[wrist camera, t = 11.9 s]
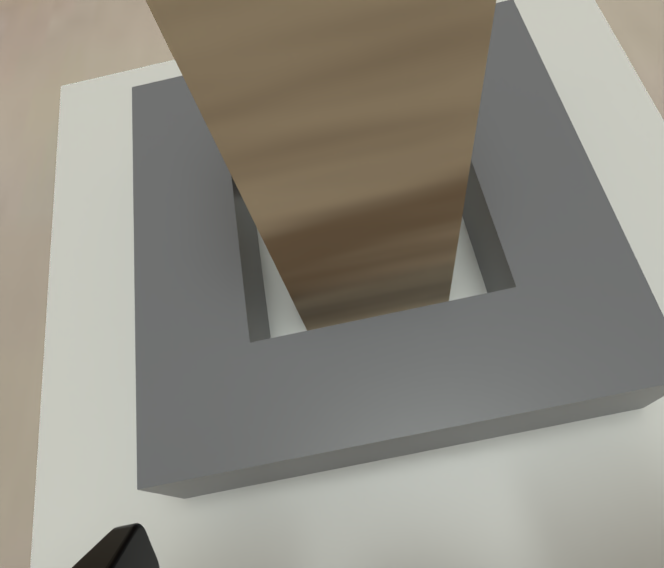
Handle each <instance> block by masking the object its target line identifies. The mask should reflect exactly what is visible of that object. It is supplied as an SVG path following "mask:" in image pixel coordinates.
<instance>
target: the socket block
mask: <svg viewBox="0 0 664 568" xmlns="http://www.w3.org/2000/svg"><path fill="white" fill-rule="evenodd" d="M133 523H139V524H141V525H142V526H143V527H144V528H145V530H146V532H147V535H148V537H149V540H150V542H151V545H152V547H153V550H154V552H155V554H156V557H157V559H158V562H159V567H160V568H664V120H663V118H662V116H661V115H660V113H659V111H658V110H657V108H656V106H655V104H654V103H653V101H652V99H651V97H650V96H649V94H648V92H647V90H646V89H645V87H644V85H643V83H642V82H641V80H640V78H639V76H638V75H637V73H636V71H635V69H634V68H633V66H632V64H631V62H630V61H629V59H628V57H627V55H626V54H625V52H624V50H623V48H622V47H621V45H620V43H619V41H618V40H617V38H616V36H615V34H614V33H613V31H612V29H611V27H610V26H609V24H608V22H607V20H606V19H605V17H604V15H603V13H602V12H601V10H600V8H599V6H598V5H597V3H596V1H595V0H496V6H495V12H494V18H493V25H492V31H491V37H490V44H489V50H488V56H487V63H486V69H485V75H484V82H483V88H482V94H481V101H480V107H479V113H478V119H477V126H476V132H475V138H474V145H473V151H472V157H471V164H470V170H469V176H468V183H467V189H466V195H465V202H464V208H463V214H462V221H461V227H460V233H459V239H458V246H457V252H456V258H455V265H454V271H453V277H452V284H451V290H450V296H449V301H447V302H442V303H437V304H433V305H428V306H423V307H418V308H413V309H409V310H404V311H399V312H394V313H389V314H385V315H380V316H375V317H370V318H366V319H361V320H356V321H351V322H346V323H342V324H337V325H332V326H327V327H322V328H318V329H313V330H308V331H307V329H306V327H305V325H304V323H303V321H302V319H301V317H300V315H299V313H298V311H297V309H296V307H295V305H294V303H293V301H292V299H291V297H290V294H289V292H288V290H287V288H286V286H285V284H284V282H283V280H282V278H281V276H280V274H279V272H278V270H277V268H276V266H275V264H274V262H273V260H272V258H271V256H270V254H269V252H268V249H267V247H266V245H265V243H264V241H263V239H262V237H261V235H260V233H259V231H258V229H257V227H256V225H255V223H254V221H253V219H252V217H251V215H250V213H249V211H248V209H247V206H246V204H245V202H244V200H243V198H242V196H241V194H240V192H239V190H238V188H237V186H236V184H235V182H234V180H233V178H232V176H231V174H230V172H229V170H228V168H227V166H226V164H225V161H224V159H223V157H222V155H221V153H220V151H219V149H218V147H217V145H216V143H215V141H214V139H213V137H212V135H211V133H210V131H209V129H208V127H207V125H206V123H205V121H204V118H203V116H202V114H201V112H200V110H199V108H198V106H197V104H196V102H195V100H194V98H193V96H192V94H191V92H190V90H189V88H188V86H187V84H186V82H185V80H184V78H183V76H182V73H181V71H180V69H179V67H178V65H177V63H176V61H175V60H171V61H167V62H162V63H158V64H154V65H149V66H145V67H141V68H137V69H132V70H128V71H124V72H119V73H115V74H111V75H106V76H102V77H98V78H94V79H89V80H85V81H81V82H76V83H72V84H68V85H63V86H61V95H60V111H59V127H58V142H57V158H56V174H55V189H54V205H53V221H52V236H51V252H50V268H49V283H48V299H47V315H46V330H45V346H44V362H43V377H42V393H41V409H40V425H39V440H38V456H37V472H36V487H35V503H34V519H33V534H32V550H31V566H30V568H72V567H73V566H74V565H75V564H76V563H77V562H78V561H79V560H80V559H81V558H82V557H83V556H84V555H86V554H87V553H88V552H89V551H90V550H91V549H92V548H93V547H94V546H95V545H96V544H97V543H98V542H99V541H100V540H101V539H102V538H103V537H105V536H106V535H107V534H108V533H109V532H110V531H111V530H112V529H113V528H115V527H118V526H123V525H128V524H133Z"/></svg>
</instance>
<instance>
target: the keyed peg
mask: <svg viewBox="0 0 664 568" xmlns="http://www.w3.org/2000/svg"><path fill="white" fill-rule="evenodd" d="M146 2H147V4H148V6H149V8H150V10H151V12H152V14H153V16H154V18H155V20H156V22H157V24H158V26H159V28H160V30H161V33H162V35H163V37H164V39H165V41H166V43H167V45H168V47H169V49H170V51H171V53H172V55H173V57H174V59H175V61H176V63H177V65H178V67H179V69H180V71H181V73H182V76H183V78H184V80H185V82H186V84H187V86H188V88H189V90H190V92H191V94H192V96H193V98H194V100H195V102H196V104H197V106H198V108H199V110H200V112H201V114H202V116H203V118H204V121H205V123H206V125H207V127H208V129H209V131H210V133H211V135H212V137H213V139H214V141H215V143H216V145H217V147H218V149H219V151H220V153H221V155H222V157H223V159H224V161H225V164H226V166H227V168H228V170H229V172H230V174H231V176H232V178H233V180H234V182H235V184H236V186H237V188H238V190H239V192H240V194H241V196H242V198H243V200H244V202H245V204H246V206H247V209H248V211H249V213H250V215H251V217H252V219H253V221H254V223H255V225H256V227H257V229H258V231H259V233H260V235H261V237H262V239H263V241H264V243H265V245H266V247H267V249H268V252H269V254H270V256H271V258H272V260H273V262H274V264H275V266H276V268H277V270H278V272H279V274H280V276H281V278H282V280H283V282H284V284H285V286H286V288H287V290H288V292H289V294H290V297H291V299H292V301H293V303H294V305H295V307H296V309H297V311H298V313H299V315H300V317H301V319H302V321H303V323H304V325H305V327H306V329H307V331H308V330H313V329H318V328H322V327H327V326H332V325H337V324H342V323H346V322H351V321H356V320H361V319H366V318H370V317H375V316H380V315H385V314H389V313H394V312H399V311H404V310H409V309H413V308H418V307H423V306H428V305H433V304H437V303H442V302H447V301H449V296H450V290H451V284H452V277H453V271H454V265H455V258H456V252H457V246H458V239H459V233H460V227H461V221H462V214H463V208H464V202H465V195H466V189H467V183H468V176H469V170H470V164H471V157H472V151H473V145H474V138H475V132H476V126H477V119H478V113H479V107H480V101H481V94H482V88H483V82H484V75H485V69H486V63H487V56H488V50H489V44H490V37H491V31H492V25H493V18H494V12H495V6H496V0H146Z"/></svg>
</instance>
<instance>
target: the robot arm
mask: <svg viewBox="0 0 664 568" xmlns="http://www.w3.org/2000/svg"><path fill="white" fill-rule="evenodd" d="M72 568H160V567H159V562H158V559H157V557H156V554H155V552H154V550H153V547H152V545H151V542H150V540H149V537H148V535H147V532H146V530H145V528H144V527H143V526H142V525H141V524H139V523H133V524H128V525H123V526H118V527H115V528H113V529H112V530H111V531H110V532H109V533H108V534H107V535H106V536H105V537H103V538H102V539H101V540H100V541H99V542H98V543H97V544H96V545H95V546H94V547H93V548H92V549H91V550H90V551H89V552H88V553H87V554H86V555H84V556H83V557H82V558H81V559H80V560H79V561H78V562H77V563H76V564H75V565H74V566H73V567H72Z"/></svg>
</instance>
